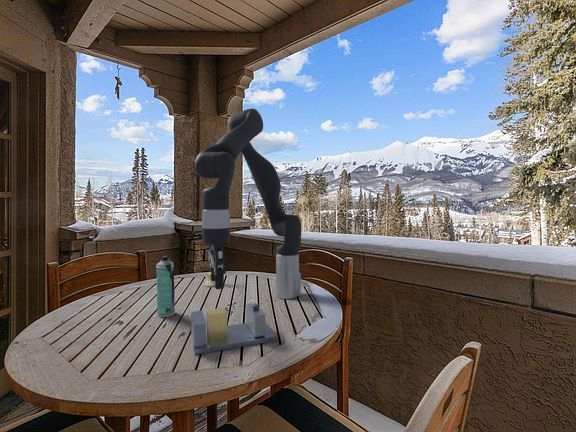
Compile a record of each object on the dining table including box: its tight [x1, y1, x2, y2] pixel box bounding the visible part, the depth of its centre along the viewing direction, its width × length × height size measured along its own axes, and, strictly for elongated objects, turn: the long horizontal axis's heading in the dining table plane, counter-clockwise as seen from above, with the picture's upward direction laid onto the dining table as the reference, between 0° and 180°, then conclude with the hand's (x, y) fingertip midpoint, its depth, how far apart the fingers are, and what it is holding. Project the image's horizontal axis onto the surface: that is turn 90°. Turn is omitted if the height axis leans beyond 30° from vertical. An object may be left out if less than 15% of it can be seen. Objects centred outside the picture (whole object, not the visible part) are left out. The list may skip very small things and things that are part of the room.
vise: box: [190, 310, 278, 355], centre depth 86 cm, size 22×12×7 cm, turn 111°
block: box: [206, 307, 228, 340], centre depth 85 cm, size 5×4×7 cm
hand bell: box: [203, 271, 215, 288], centre depth 141 cm, size 8×8×16 cm
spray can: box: [156, 255, 176, 318], centre depth 104 cm, size 6×6×20 cm
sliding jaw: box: [245, 302, 266, 337], centre depth 89 cm, size 3×10×7 cm, turn 21°
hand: (217, 284), depth 84 cm, fingers open, 8 cm apart
